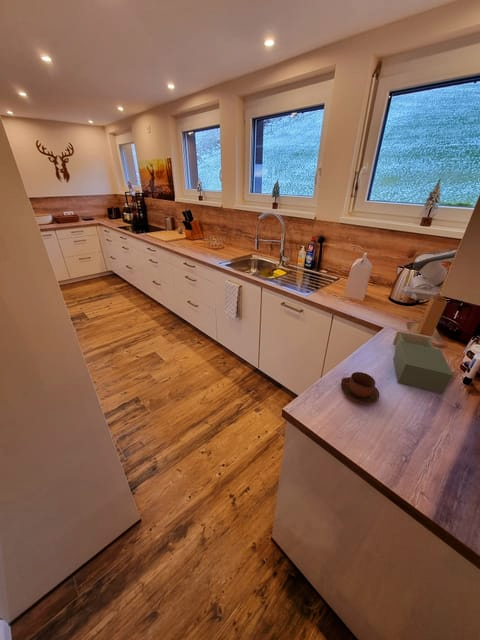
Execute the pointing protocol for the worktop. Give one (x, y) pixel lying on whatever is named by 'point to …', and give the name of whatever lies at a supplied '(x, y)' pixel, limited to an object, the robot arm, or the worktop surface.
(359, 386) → the cup and saucer
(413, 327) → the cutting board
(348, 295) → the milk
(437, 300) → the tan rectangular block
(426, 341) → the drawer
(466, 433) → the worktop surface
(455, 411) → the worktop surface
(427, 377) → the green box
